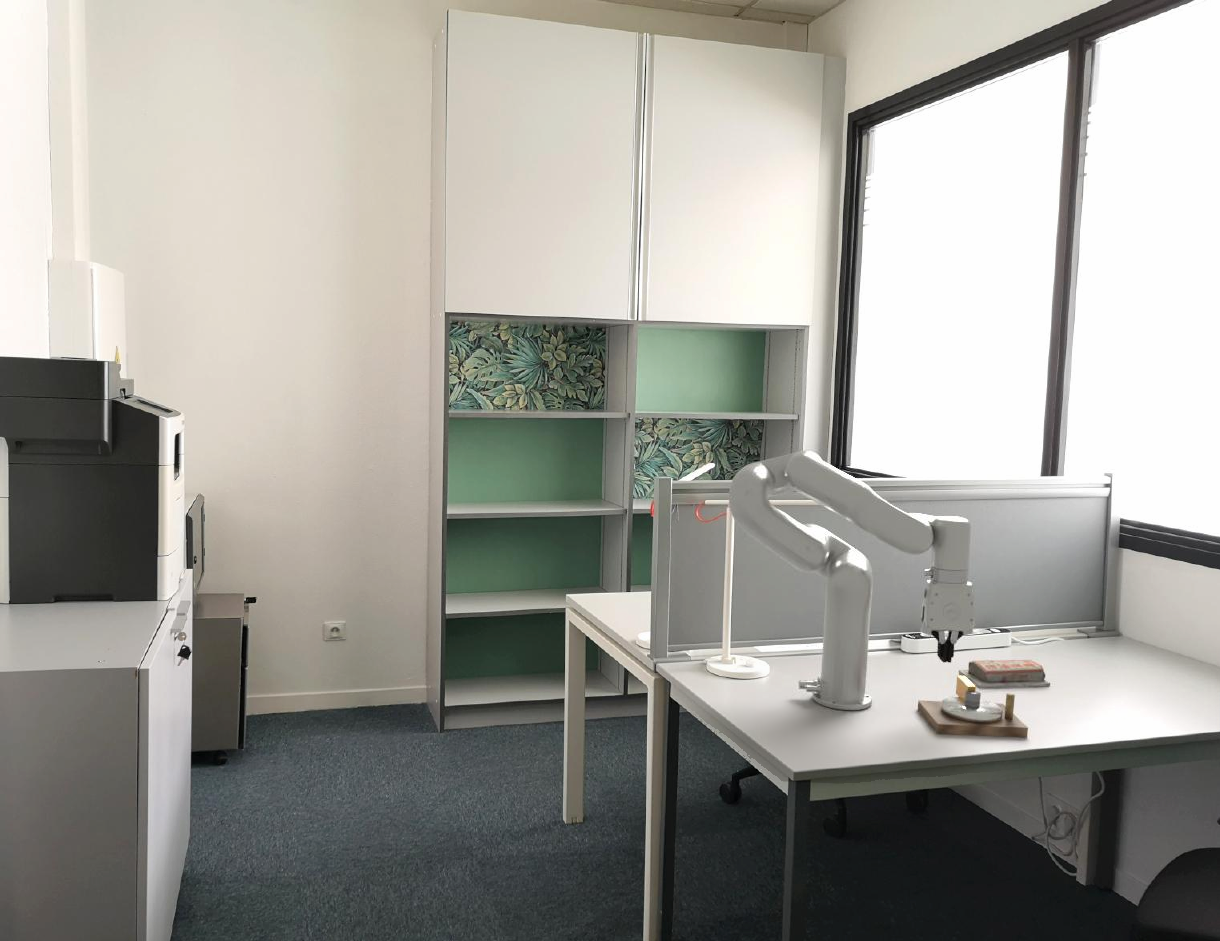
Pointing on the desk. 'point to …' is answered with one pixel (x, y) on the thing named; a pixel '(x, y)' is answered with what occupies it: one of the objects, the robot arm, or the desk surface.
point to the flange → (970, 704)
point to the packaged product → (1005, 673)
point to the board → (961, 727)
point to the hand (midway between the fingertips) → (945, 660)
